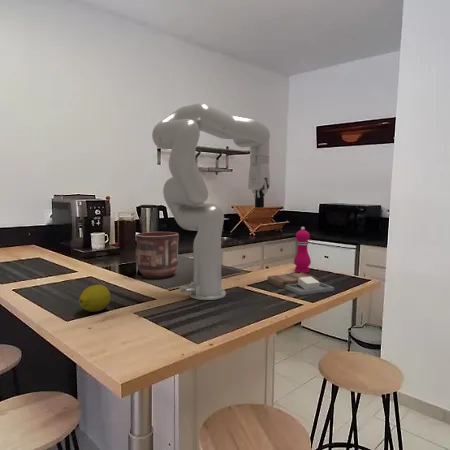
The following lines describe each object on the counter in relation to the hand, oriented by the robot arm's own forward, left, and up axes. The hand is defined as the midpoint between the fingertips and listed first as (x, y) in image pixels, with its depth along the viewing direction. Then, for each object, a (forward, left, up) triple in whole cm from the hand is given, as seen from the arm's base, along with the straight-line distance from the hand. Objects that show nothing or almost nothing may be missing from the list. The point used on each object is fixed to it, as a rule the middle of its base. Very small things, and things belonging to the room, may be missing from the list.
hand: (259, 207), depth 151 cm
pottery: (-36, +23, -29) cm, 52 cm away
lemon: (-65, -16, -29) cm, 73 cm away
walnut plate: (+8, -12, -29) cm, 32 cm away
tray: (+8, -23, -29) cm, 38 cm away
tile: (+9, -21, -28) cm, 36 cm away
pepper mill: (+24, +4, -29) cm, 38 cm away
